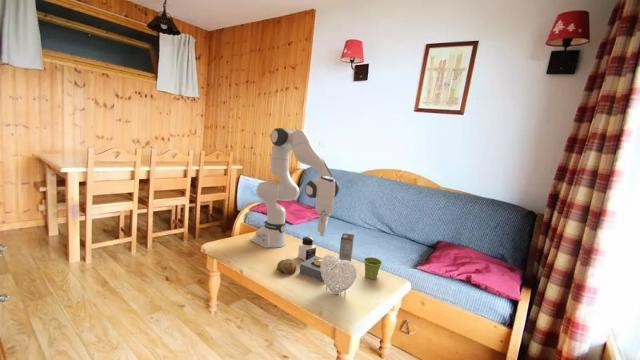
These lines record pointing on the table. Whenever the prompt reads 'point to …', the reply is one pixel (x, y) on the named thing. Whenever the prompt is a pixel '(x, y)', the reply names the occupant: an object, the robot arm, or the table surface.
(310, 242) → the medicine bottle
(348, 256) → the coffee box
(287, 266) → the bread roll
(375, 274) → the plant pot
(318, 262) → the brass button
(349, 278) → the decorative heart
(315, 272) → the switch block
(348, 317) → the table surface
